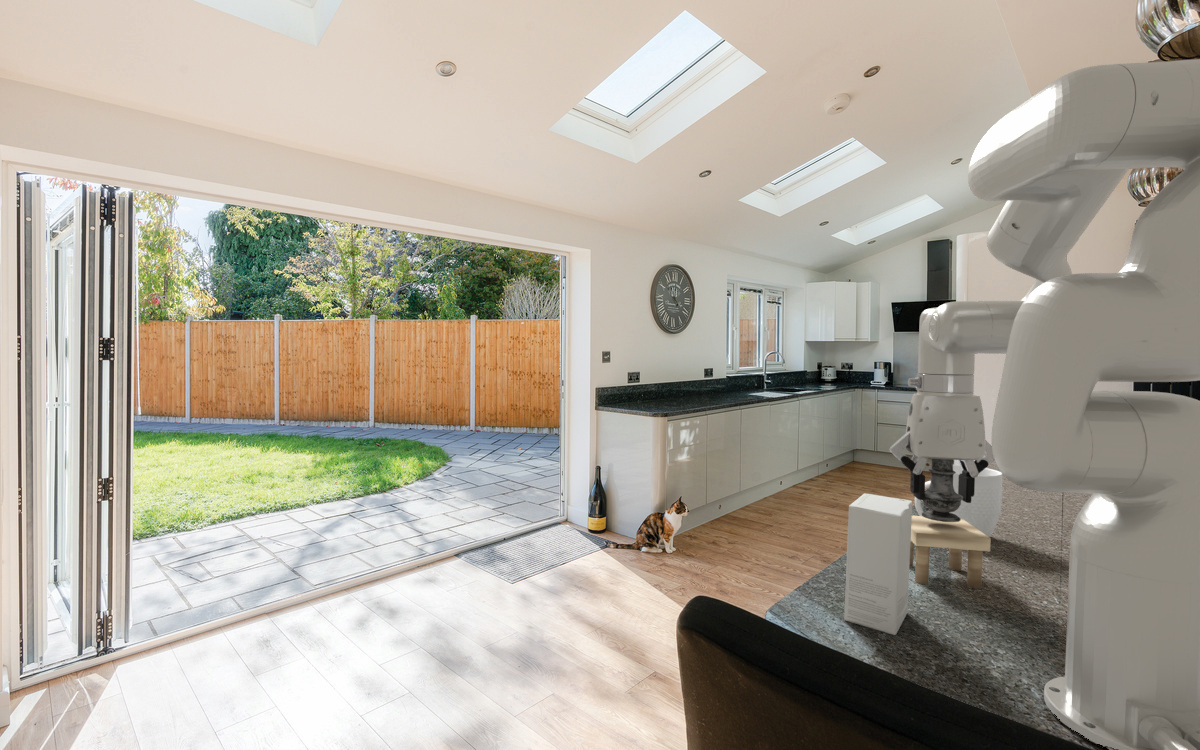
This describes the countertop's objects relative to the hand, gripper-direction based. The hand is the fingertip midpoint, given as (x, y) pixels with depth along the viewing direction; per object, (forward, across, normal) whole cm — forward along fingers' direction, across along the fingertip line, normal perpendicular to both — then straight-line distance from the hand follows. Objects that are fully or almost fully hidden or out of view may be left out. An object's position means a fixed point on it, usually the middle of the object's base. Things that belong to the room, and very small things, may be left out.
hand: (941, 498), depth 87 cm
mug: (+13, +11, +23) cm, 29 cm away
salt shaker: (+3, 0, 0) cm, 3 cm away
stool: (+12, 0, 0) cm, 12 cm away
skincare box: (+13, -13, -18) cm, 26 cm away
